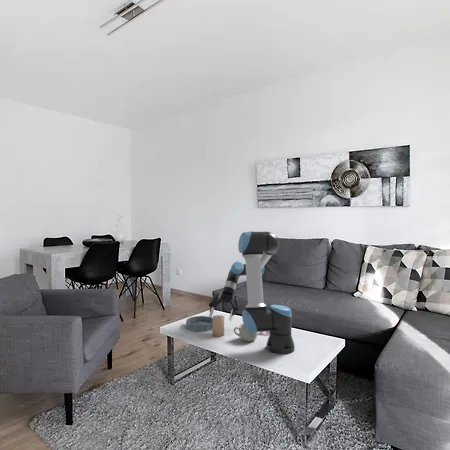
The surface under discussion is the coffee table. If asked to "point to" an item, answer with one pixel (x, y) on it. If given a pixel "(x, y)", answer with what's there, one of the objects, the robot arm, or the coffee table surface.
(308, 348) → the coffee table surface
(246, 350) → the coffee table surface
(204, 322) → the bowl
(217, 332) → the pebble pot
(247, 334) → the teacup
